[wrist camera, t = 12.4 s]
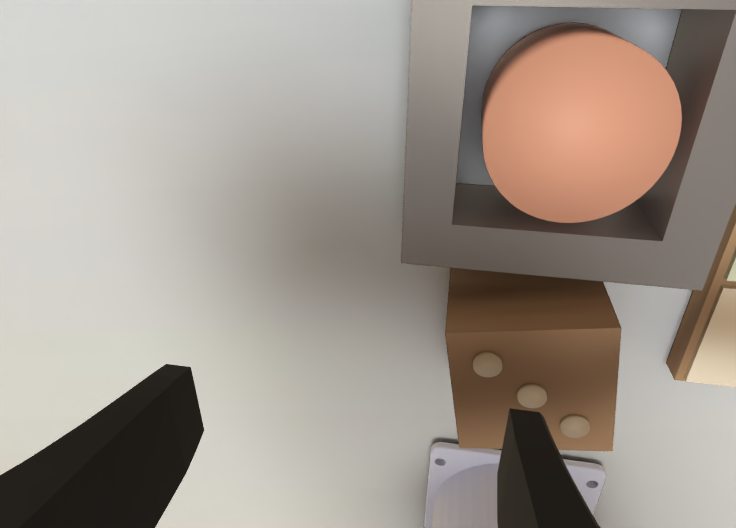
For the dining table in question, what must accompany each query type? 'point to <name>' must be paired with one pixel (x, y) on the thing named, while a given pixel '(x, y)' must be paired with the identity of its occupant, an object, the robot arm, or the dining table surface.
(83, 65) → the dining table surface
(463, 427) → the die
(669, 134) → the plunger
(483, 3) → the frame
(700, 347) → the track board
